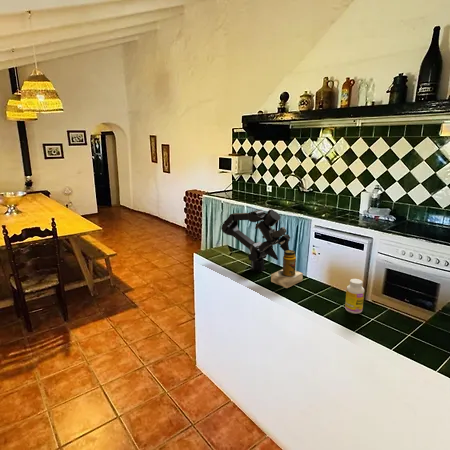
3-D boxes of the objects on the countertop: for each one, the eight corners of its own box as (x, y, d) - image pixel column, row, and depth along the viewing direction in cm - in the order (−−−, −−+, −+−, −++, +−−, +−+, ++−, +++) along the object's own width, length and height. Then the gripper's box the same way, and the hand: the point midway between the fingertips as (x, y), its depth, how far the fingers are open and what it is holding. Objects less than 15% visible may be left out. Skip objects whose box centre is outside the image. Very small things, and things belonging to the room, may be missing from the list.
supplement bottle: (355, 316, 126) (358, 286, 122) (341, 308, 131) (343, 280, 128) (365, 311, 129) (368, 281, 126) (351, 304, 134) (354, 276, 131)
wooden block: (271, 281, 158) (271, 274, 157) (286, 274, 165) (286, 267, 164) (287, 288, 150) (287, 280, 149) (302, 280, 158) (302, 273, 157)
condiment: (296, 277, 152) (297, 253, 149) (278, 277, 153) (279, 253, 150) (294, 271, 159) (295, 248, 156) (277, 271, 160) (278, 248, 157)
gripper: (263, 226, 150) (280, 254, 145) (288, 219, 162) (305, 244, 157) (251, 238, 158) (267, 265, 153) (275, 230, 170) (291, 255, 164)
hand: (283, 257), depth 156 cm, fingers open, 9 cm apart
